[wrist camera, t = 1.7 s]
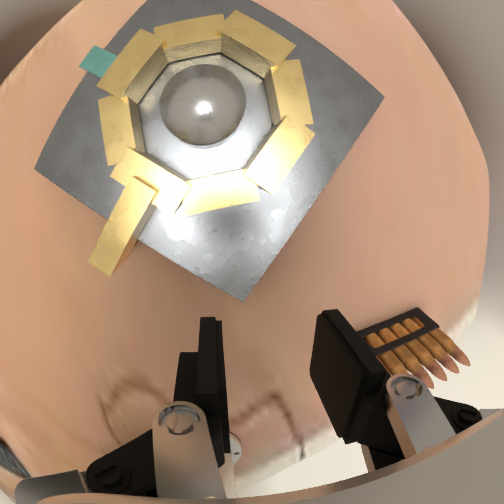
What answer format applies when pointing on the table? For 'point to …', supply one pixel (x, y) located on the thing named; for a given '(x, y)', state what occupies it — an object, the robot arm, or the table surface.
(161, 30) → the ring nut
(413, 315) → the ammunition clip
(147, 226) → the housing
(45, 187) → the table surface
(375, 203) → the table surface
